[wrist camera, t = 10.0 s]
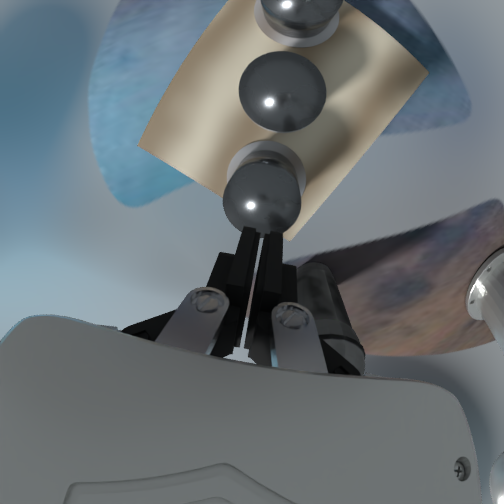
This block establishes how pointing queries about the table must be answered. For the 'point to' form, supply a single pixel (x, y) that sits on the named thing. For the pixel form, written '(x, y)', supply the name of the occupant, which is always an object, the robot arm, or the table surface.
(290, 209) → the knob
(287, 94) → the knob mid
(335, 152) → the mount plate
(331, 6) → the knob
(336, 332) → the beverage cup
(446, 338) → the table surface
